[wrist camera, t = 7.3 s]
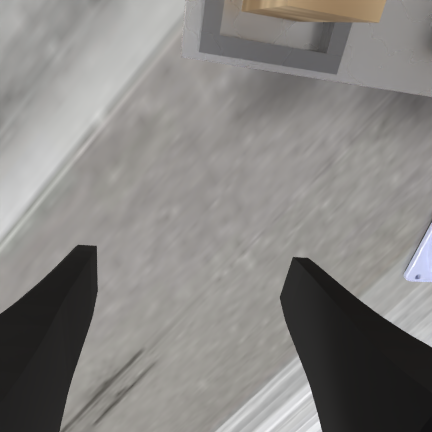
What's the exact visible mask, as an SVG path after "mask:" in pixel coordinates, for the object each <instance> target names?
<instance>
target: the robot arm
mask: <svg viewBox="0 0 432 432" xmlns="http://www.w3.org/2000/svg"><path fill="white" fill-rule="evenodd" d="M404 277H405V279H406V280H407V281H418V282H432V223H431V225H430V227H429V229H428V230H427V232H426V234H425V236H424V238H423V240H422V242H421V243H420V245H419V247H418V249H417V251H416V253H415V255H414V256H413V258H412V260H411V262H410V264H409V266H408V267H407V269H406V271H405V273H404ZM97 292H98V286H97V246H88V245H77V246H76V247H75V248H74V249H73V250H72V251H71V252H70V253H69V254H68V255H67V256H66V257H65V258H64V259H63V260H62V261H61V262H60V263H59V264H58V265H57V266H56V267H55V268H54V269H53V270H52V271H51V272H50V273H49V274H48V275H47V276H46V277H45V278H44V279H42V280H41V281H40V282H39V283H38V284H37V285H36V286H35V287H34V288H32V289H31V290H30V291H29V292H28V293H26V294H25V295H24V296H23V297H22V298H20V299H19V300H18V301H17V302H15V303H14V304H13V305H12V306H10V307H9V308H8V309H6V310H5V311H4V312H2V313H1V314H0V432H59V431H60V426H61V421H62V417H63V413H64V408H65V404H66V400H67V395H68V391H69V387H70V384H71V380H72V377H73V374H74V371H75V368H76V365H77V362H78V359H79V356H80V353H81V350H82V347H83V344H84V341H85V338H86V335H87V332H88V329H89V326H90V323H91V320H92V316H93V312H94V307H95V302H96V297H97ZM280 300H281V305H282V309H283V313H284V317H285V321H286V324H287V327H288V329H289V332H290V335H291V337H292V340H293V342H294V345H295V347H296V350H297V353H298V355H299V358H300V360H301V363H302V365H303V368H304V370H305V373H306V376H307V378H308V381H309V384H310V387H311V391H312V394H313V398H314V401H315V405H316V409H317V412H318V416H319V420H320V424H321V428H322V432H432V347H430V346H429V345H427V344H425V343H423V342H422V341H420V340H418V339H416V338H414V337H413V336H411V335H409V334H408V333H406V332H404V331H403V330H401V329H400V328H398V327H397V326H395V325H394V324H392V323H391V322H389V321H388V320H386V319H385V318H383V317H382V316H380V315H379V314H377V313H376V312H375V311H373V310H372V309H371V308H369V307H368V306H367V305H365V304H364V303H363V302H361V301H360V300H359V299H357V298H356V297H355V296H354V295H352V294H351V293H350V292H349V291H348V290H346V289H345V288H344V287H343V286H341V285H340V284H339V283H338V282H337V281H336V280H334V279H333V278H332V277H331V276H330V275H328V274H327V273H326V272H325V271H324V270H323V269H321V268H320V267H319V266H318V265H316V264H315V263H314V262H313V261H311V260H310V259H309V258H299V257H293V259H292V262H291V265H290V268H289V271H288V274H287V277H286V280H285V283H284V286H283V289H282V292H281V295H280Z"/></svg>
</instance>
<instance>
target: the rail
mask: <svg viewBox="0 0 432 432" xmlns="http://www.w3.org/2000/svg"><path fill="white" fill-rule="evenodd" d="M242 3H243V0H185V11H184V22H183V32H182V43H181V54H180V55H181V57H184V58H190V59H196V60H203V61H209V62H215V63H221V64H228V65H234V66H240V67H247V68H253V69H259V70H265V71H272V72H278V73H284V74H291V75H297V76H303V77H309V78H316V79H322V80H328V81H335V82H341V83H347V84H353V85H360V86H366V87H372V88H379V89H385V90H391V91H397V92H404V93H410V94H416V95H423V96H429V97H432V0H386V3H385V6H384V9H383V12H382V15H381V18H380V21H379V23H364V22H298V21H292V20H286V19H281V18H275V17H270V16H264V15H259V14H253V13H248V12H242V11H241V9H242Z"/></svg>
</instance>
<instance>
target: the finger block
mask: <svg viewBox="0 0 432 432" xmlns="http://www.w3.org/2000/svg"><path fill="white" fill-rule="evenodd" d="M385 3H386V0H243V3H242V9H241V11H242V12H248V13H253V14H259V15H264V16H270V17H275V18H281V19H286V20H292V21H298V22H364V23H379V21H380V18H381V15H382V12H383V9H384V6H385Z"/></svg>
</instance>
